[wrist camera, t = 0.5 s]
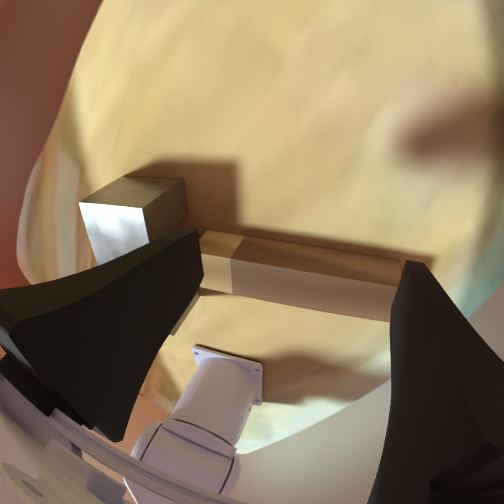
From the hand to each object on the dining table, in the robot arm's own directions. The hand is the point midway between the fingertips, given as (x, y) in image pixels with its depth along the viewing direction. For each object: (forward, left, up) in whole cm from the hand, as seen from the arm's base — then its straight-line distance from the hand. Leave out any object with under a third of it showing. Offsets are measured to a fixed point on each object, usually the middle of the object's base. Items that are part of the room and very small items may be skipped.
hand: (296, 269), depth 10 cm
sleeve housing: (-6, +13, -9) cm, 17 cm away
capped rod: (-6, +1, -9) cm, 11 cm away
